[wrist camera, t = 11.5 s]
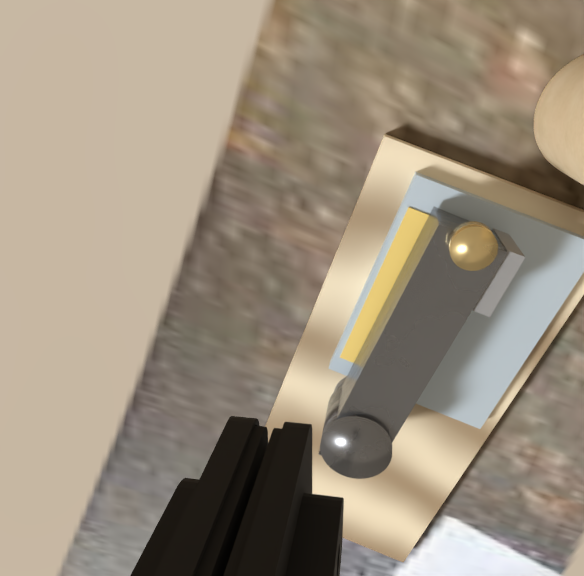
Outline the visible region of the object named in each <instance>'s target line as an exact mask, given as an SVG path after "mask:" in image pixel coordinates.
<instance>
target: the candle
mask: <svg viewBox="0 0 584 576" xmlns="http://www.w3.org/2000/svg"><path fill="white" fill-rule="evenodd" d="M534 134H535V139H536V142H537V145H538V147H539V149H540V151H541V153H542V154H543V156H544V157H545V158H546V160H547V161H548V162H549V163H550V164H552V165H553V166H554V167H555V168H557V169H558V170H559V171H561V172H563V173H564V174H566V175H568V176H569V177H571V178H573V179H574V180H576V181H578V182H579V183H581V184H583V185H584V54H583V55H581V56H579V57H578V58H576V59H574V60H573V61H571V62H570V63H568V64H567V65H565V66H564V67H563V68H562V69H561V70H560V71H558V72H557V73H556V74H555V75H554V77H553V78H552V79H551V80H550V81H549V83H548V84H547V85H546V87H545V88H544V90H543V92H542V94H541V96H540V98H539V100H538V103H537V106H536V110H535V115H534Z"/></svg>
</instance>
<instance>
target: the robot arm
mask: <svg viewBox="0 0 584 576" xmlns="http://www.w3.org/2000/svg"><path fill="white" fill-rule="evenodd" d="M343 510H344V498H342V497H334V496H326V495H318V494H312V425H311V424H305V423H295V422H284V424H283V427H282V429H281V428H274V429H273V431H272V434H271V437H270V439H269V442H268V430H267V427H262V426H259V421H258V419H255V418H245V417H235V416H231V417H230V418H229V420H228V421H227V423H226V426H225V428H224V430H223V432H222V434H221V436H220V438H219V440H218V442H217V444H216V446H215V448H214V451H213V453H212V455H211V457H210V459H209V461H208V463H207V465H206V467H205V469H204V471H203V473H202V476H201V478H200V480H198V479H189V478H184V479H183V480H182V481H181V482H180V483H179V485H178V486H177V488H176V490H175V492H174V494H173V496H172V498H171V500H170V502H169V503H168V505H167V507H166V509H165V511H164V513H163V515H162V517H161V519H160V521H159V522H158V524H157V526H156V528H155V530H154V532H153V534H152V536H151V538H150V540H149V541H148V543H147V545H146V547H145V549H144V551H143V553H142V555H141V557H140V559H139V560H138V562H137V564H136V566H135V568H134V570H133V572H132V574H131V576H339V574H340V563H341V551H342V536H343Z"/></svg>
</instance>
